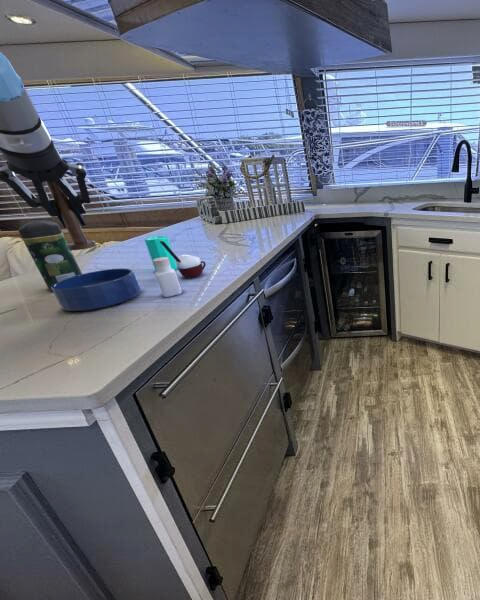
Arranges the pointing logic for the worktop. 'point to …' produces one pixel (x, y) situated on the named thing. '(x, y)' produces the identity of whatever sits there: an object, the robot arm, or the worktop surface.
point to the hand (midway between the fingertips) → (74, 221)
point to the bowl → (96, 289)
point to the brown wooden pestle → (69, 219)
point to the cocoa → (187, 264)
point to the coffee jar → (49, 251)
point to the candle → (160, 249)
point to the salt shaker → (166, 277)
